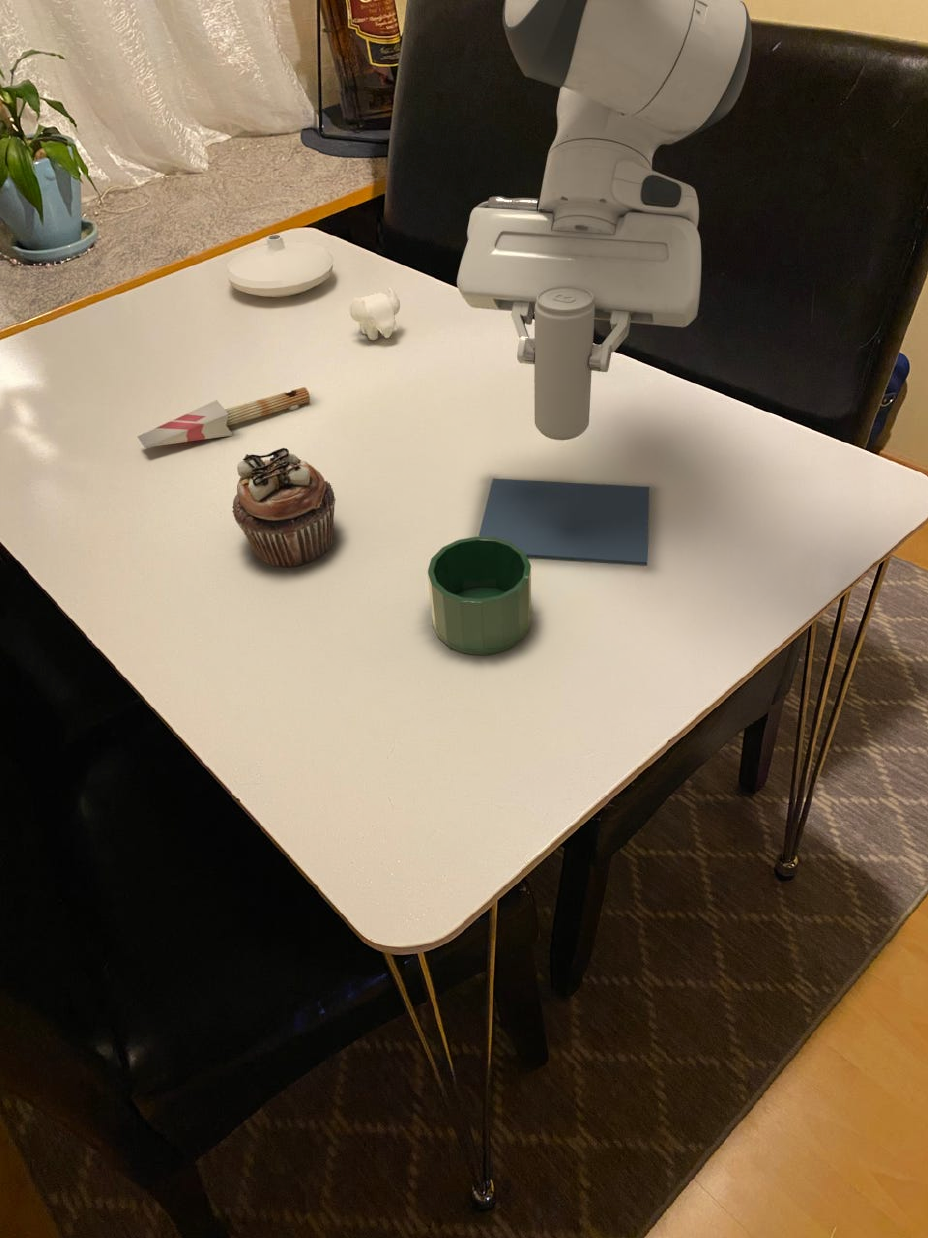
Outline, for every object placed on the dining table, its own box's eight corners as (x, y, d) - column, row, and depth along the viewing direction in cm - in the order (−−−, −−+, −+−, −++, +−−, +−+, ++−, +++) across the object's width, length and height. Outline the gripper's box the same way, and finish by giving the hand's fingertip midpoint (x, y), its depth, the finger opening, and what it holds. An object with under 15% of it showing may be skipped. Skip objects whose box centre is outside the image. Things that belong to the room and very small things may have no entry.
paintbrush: (132, 422, 100) (299, 377, 107) (138, 444, 101) (302, 398, 109) (142, 437, 97) (312, 390, 105) (148, 459, 99) (315, 411, 106)
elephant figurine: (368, 354, 116) (362, 309, 111) (342, 331, 121) (335, 287, 117) (414, 339, 118) (410, 295, 114) (387, 317, 123) (382, 274, 119)
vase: (288, 317, 125) (278, 266, 120) (207, 295, 131) (195, 246, 127) (358, 275, 134) (351, 227, 129) (279, 257, 141) (270, 210, 136)
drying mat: (649, 489, 91) (649, 486, 91) (646, 565, 82) (647, 562, 82) (493, 481, 93) (492, 478, 93) (475, 554, 85) (475, 550, 85)
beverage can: (573, 448, 77) (578, 314, 69) (524, 434, 79) (523, 303, 71) (597, 421, 80) (605, 290, 72) (550, 409, 82) (552, 280, 74)
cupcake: (360, 546, 87) (346, 458, 80) (270, 587, 83) (247, 498, 76) (313, 500, 92) (296, 415, 86) (227, 537, 89) (202, 451, 82)
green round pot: (535, 592, 80) (535, 539, 76) (524, 659, 74) (523, 606, 70) (443, 585, 82) (438, 533, 78) (425, 650, 76) (419, 598, 72)
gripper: (464, 176, 74) (434, 340, 74) (716, 190, 69) (683, 366, 69) (482, 212, 81) (454, 364, 81) (715, 227, 75) (684, 390, 75)
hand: (562, 365), depth 75 cm, fingers closed on beverage can, 5 cm apart
